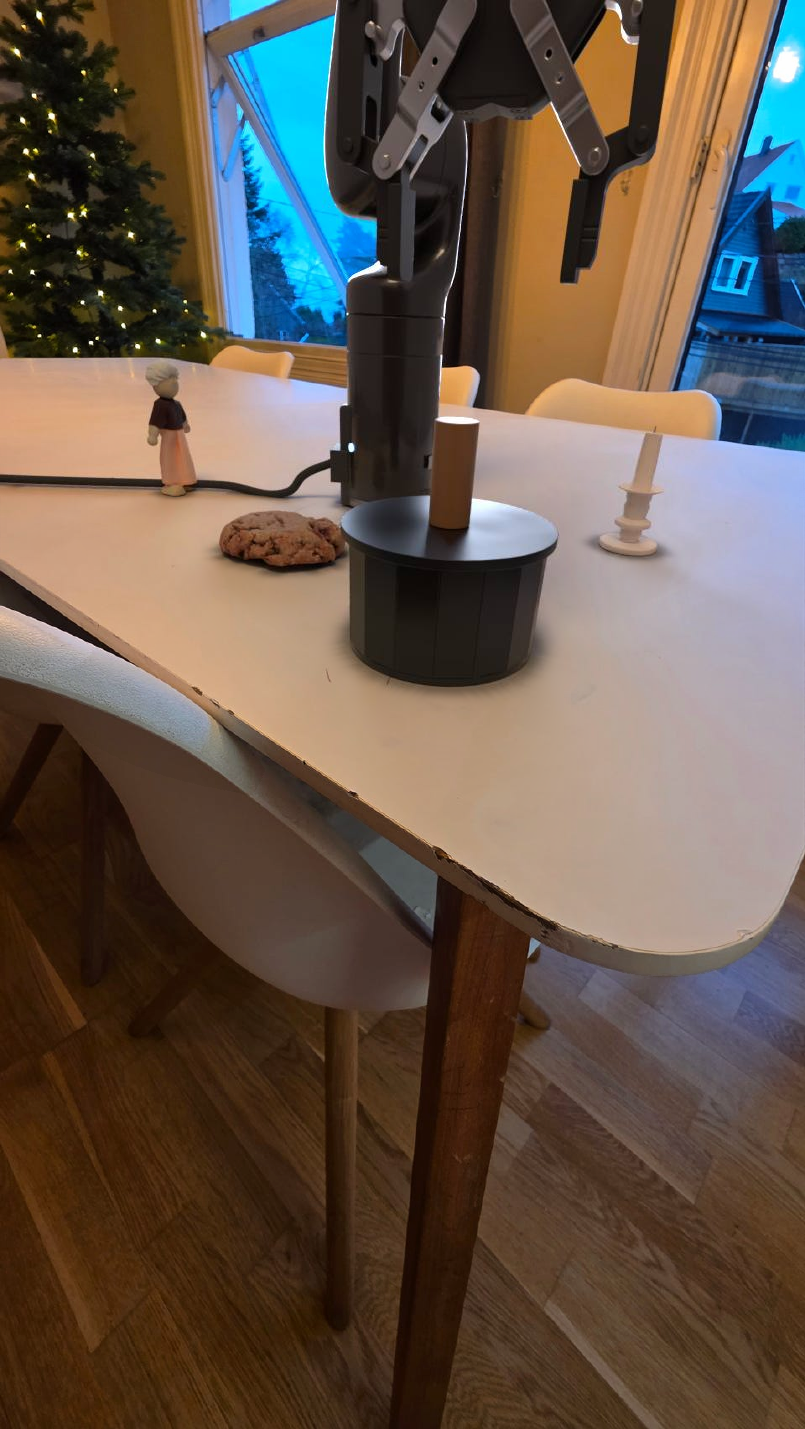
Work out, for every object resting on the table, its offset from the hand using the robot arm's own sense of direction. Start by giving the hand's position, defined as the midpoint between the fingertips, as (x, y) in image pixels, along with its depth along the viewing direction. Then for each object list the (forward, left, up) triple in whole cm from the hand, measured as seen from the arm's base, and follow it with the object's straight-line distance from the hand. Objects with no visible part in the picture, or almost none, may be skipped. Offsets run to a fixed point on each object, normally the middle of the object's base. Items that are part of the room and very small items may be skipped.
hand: (480, 282), depth 31 cm
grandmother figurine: (-37, +24, -19) cm, 48 cm away
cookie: (-17, +10, -19) cm, 28 cm away
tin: (0, -1, -19) cm, 19 cm away
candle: (+11, +25, -19) cm, 33 cm away
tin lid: (0, -1, -12) cm, 12 cm away
